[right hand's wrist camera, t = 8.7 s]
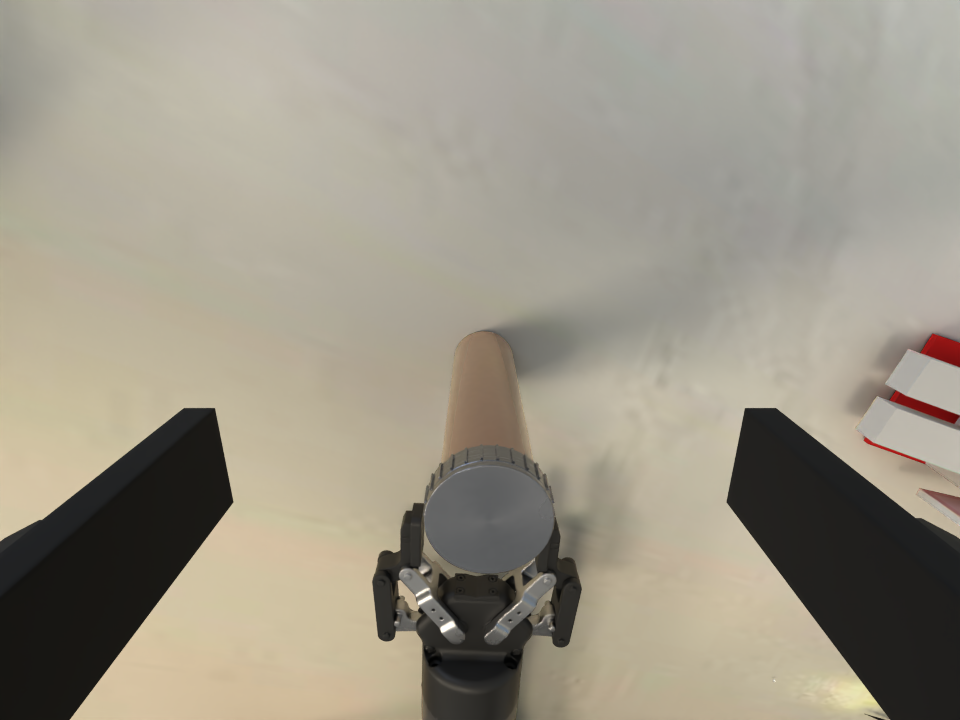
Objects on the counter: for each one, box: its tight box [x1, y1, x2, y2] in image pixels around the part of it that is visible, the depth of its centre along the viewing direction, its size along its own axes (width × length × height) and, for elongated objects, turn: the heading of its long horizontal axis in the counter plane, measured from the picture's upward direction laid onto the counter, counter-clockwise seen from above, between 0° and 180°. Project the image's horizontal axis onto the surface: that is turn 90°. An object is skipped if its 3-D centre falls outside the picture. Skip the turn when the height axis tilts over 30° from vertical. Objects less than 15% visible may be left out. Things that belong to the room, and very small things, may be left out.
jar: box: [441, 331, 534, 463], centre depth 29 cm, size 4×4×18 cm
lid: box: [423, 444, 555, 574], centre depth 21 cm, size 5×5×2 cm
